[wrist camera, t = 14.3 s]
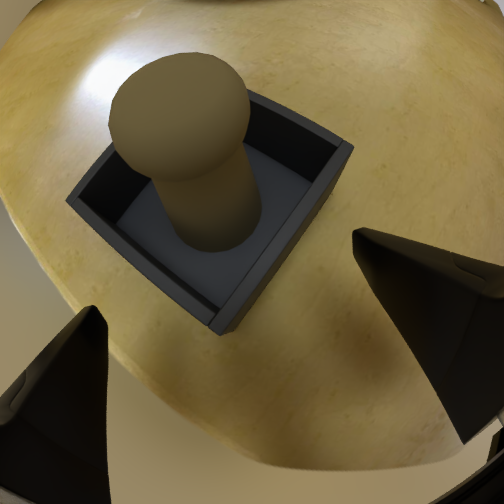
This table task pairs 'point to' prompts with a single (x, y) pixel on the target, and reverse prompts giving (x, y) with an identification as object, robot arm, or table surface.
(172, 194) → the cork
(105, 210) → the dark grey square box
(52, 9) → the table surface
